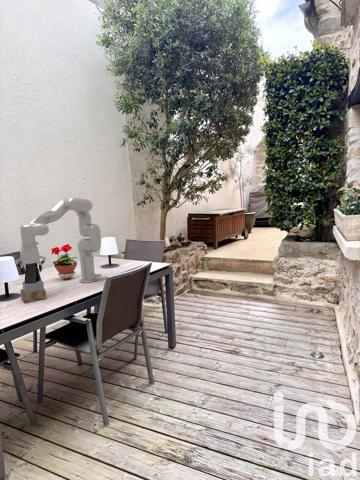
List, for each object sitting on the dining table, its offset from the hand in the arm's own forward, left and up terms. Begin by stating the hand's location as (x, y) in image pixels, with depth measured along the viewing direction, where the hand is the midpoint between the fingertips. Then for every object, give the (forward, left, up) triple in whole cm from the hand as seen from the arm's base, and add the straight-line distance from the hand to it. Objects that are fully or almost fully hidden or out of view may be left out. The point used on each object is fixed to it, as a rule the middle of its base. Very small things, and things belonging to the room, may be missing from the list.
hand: (31, 272), depth 183 cm
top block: (0, 0, -11) cm, 11 cm away
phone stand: (0, 0, -6) cm, 6 cm away
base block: (0, 0, -17) cm, 17 cm away
